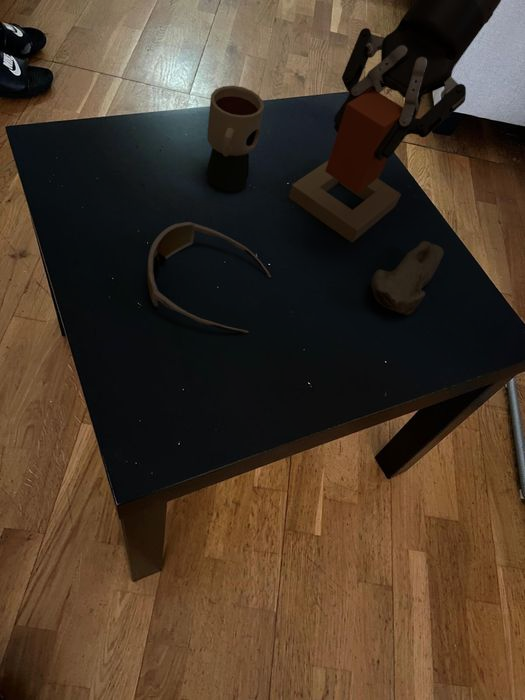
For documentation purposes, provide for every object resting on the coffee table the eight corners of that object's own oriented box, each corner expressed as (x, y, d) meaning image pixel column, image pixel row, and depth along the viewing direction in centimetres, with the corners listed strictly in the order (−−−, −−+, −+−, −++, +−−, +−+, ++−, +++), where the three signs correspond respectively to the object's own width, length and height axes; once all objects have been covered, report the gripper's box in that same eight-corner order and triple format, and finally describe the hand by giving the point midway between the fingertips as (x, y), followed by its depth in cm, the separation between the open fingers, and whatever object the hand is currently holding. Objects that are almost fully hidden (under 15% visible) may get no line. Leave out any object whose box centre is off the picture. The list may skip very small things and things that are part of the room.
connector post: (380, 176, 66) (408, 110, 59) (357, 194, 64) (384, 127, 56) (348, 155, 67) (371, 87, 60) (324, 171, 65) (346, 103, 57)
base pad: (395, 206, 84) (401, 194, 82) (352, 243, 78) (357, 230, 76) (334, 165, 87) (339, 152, 85) (288, 197, 81) (291, 184, 79)
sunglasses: (170, 229, 73) (176, 203, 69) (270, 276, 75) (281, 253, 71) (124, 305, 65) (128, 280, 61) (238, 355, 67) (249, 334, 63)
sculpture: (400, 248, 80) (353, 300, 72) (415, 224, 77) (368, 276, 68) (440, 275, 79) (398, 332, 70) (457, 252, 75) (415, 310, 67)
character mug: (242, 210, 78) (256, 131, 67) (195, 198, 78) (201, 117, 67) (255, 164, 84) (270, 85, 74) (211, 152, 84) (219, 72, 73)
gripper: (397, -51, 55) (299, 99, 59) (519, 14, 51) (406, 168, 55) (403, -7, 62) (316, 124, 66) (511, 53, 58) (411, 187, 62)
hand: (357, 143), depth 60 cm, fingers closed on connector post, 5 cm apart
